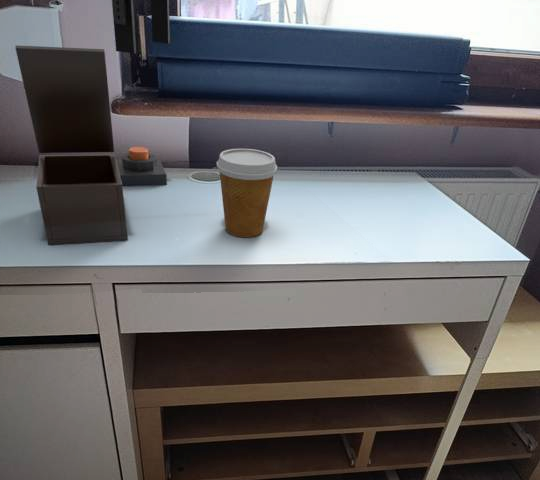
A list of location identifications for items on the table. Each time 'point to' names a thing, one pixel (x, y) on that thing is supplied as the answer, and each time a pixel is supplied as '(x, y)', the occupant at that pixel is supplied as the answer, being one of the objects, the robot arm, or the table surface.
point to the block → (141, 171)
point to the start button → (138, 153)
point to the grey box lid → (67, 98)
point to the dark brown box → (81, 198)
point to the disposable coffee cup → (245, 189)
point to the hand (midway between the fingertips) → (144, 47)
